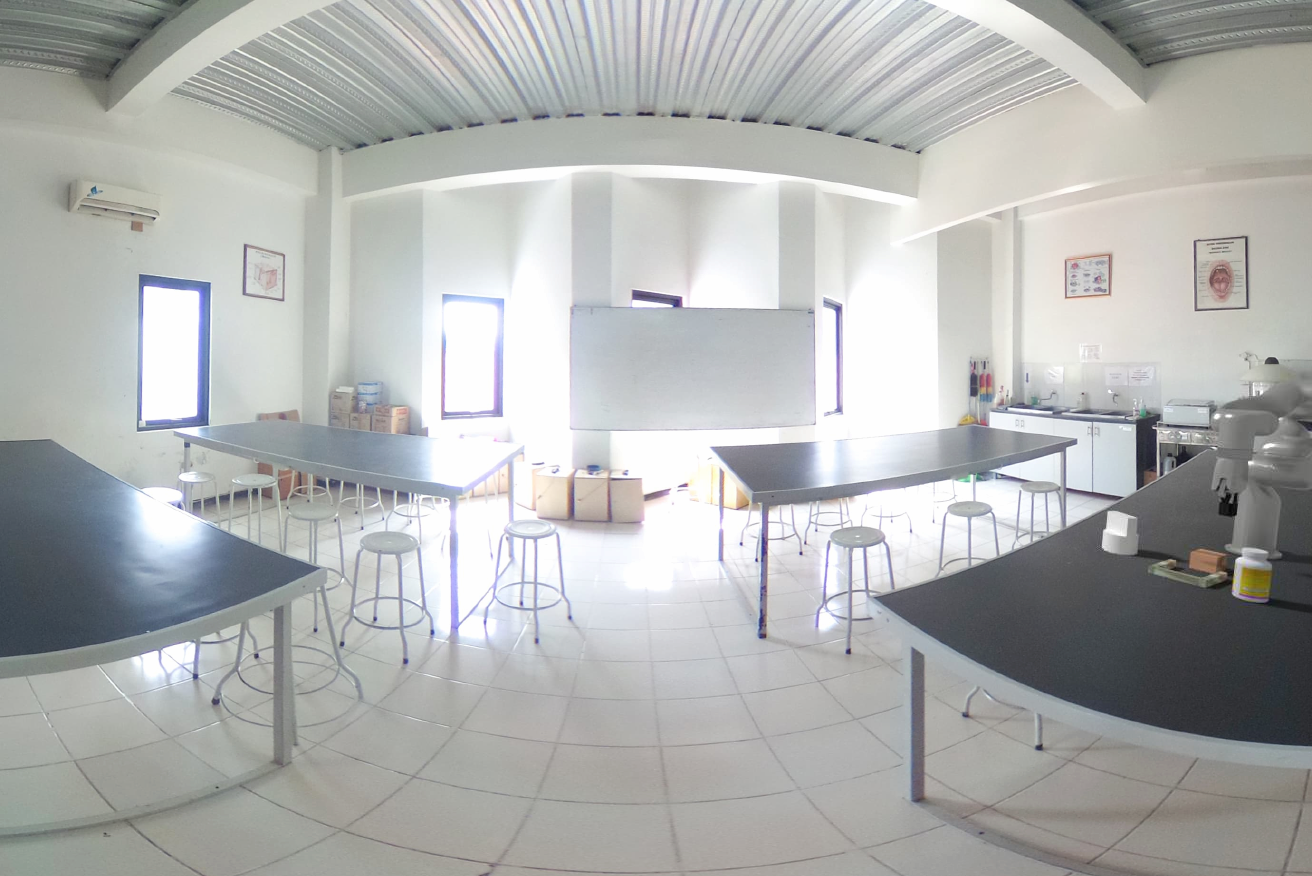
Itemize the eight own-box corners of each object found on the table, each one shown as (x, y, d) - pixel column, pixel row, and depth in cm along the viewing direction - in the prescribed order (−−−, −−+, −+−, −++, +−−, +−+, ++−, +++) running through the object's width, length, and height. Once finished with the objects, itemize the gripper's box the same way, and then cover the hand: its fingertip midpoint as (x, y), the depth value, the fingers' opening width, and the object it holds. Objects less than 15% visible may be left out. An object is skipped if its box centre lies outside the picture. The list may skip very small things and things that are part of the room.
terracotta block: (1199, 564, 174) (1200, 548, 173) (1225, 571, 168) (1227, 554, 168) (1189, 568, 171) (1190, 551, 170) (1215, 574, 166) (1217, 557, 165)
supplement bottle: (1275, 604, 145) (1282, 555, 143) (1244, 602, 146) (1250, 554, 145) (1254, 594, 151) (1260, 546, 150) (1224, 592, 153) (1230, 545, 151)
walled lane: (1169, 565, 173) (1170, 559, 173) (1226, 579, 161) (1227, 573, 161) (1147, 572, 168) (1148, 565, 167) (1205, 587, 156) (1206, 580, 156)
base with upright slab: (1144, 555, 183) (1148, 518, 181) (1115, 555, 183) (1119, 518, 181) (1122, 546, 191) (1125, 510, 190) (1094, 546, 192) (1097, 511, 190)
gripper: (1229, 450, 176) (1223, 509, 178) (1204, 454, 169) (1198, 515, 172) (1263, 453, 169) (1256, 514, 171) (1238, 458, 162) (1231, 522, 165)
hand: (1227, 515), depth 171 cm, fingers closed
